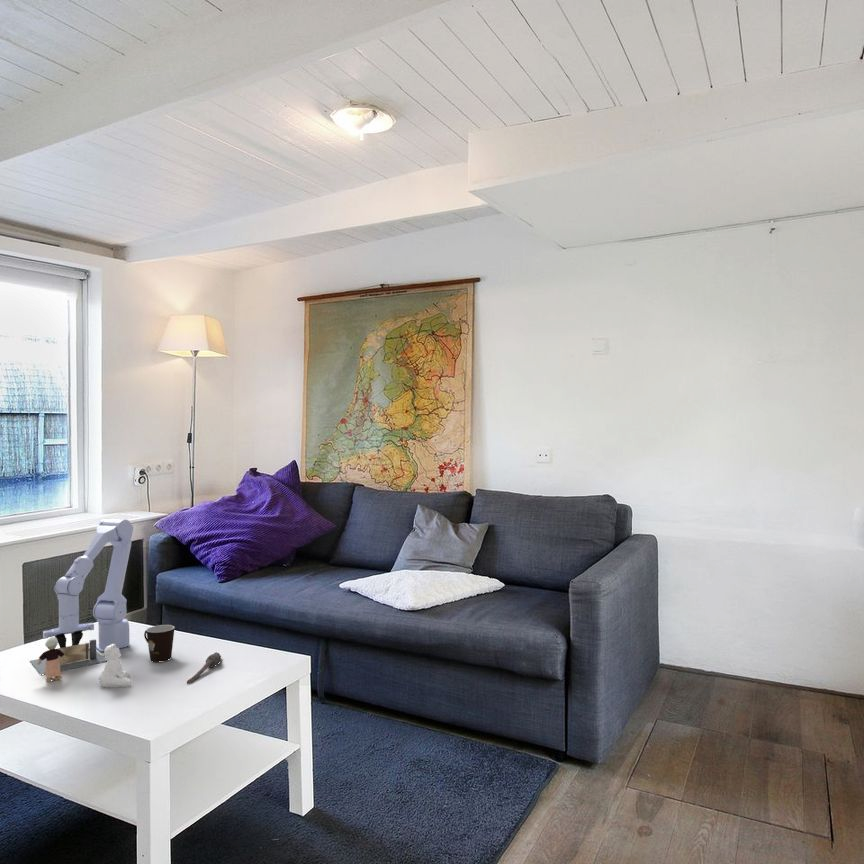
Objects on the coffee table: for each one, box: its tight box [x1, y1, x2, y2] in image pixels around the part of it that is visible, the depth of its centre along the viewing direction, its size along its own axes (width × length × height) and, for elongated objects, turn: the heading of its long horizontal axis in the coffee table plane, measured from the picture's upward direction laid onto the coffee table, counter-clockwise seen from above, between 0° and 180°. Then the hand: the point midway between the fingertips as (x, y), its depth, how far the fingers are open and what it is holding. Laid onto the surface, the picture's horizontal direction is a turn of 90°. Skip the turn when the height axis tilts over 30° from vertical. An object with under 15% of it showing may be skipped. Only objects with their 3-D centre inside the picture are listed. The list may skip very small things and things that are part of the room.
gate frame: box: [29, 639, 108, 676], centre depth 221 cm, size 19×17×7 cm
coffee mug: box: [143, 624, 175, 663], centre depth 224 cm, size 12×9×10 cm
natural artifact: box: [186, 652, 222, 685], centre depth 212 cm, size 4×23×4 cm, turn 166°
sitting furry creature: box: [98, 644, 132, 689], centre depth 201 cm, size 10×9×12 cm
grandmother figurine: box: [37, 636, 67, 682], centre depth 205 cm, size 8×4×13 cm, turn 135°
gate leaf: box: [57, 642, 90, 665], centre depth 218 cm, size 12×1×5 cm, turn 132°
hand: (69, 655), depth 220 cm, fingers closed on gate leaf, 2 cm apart
